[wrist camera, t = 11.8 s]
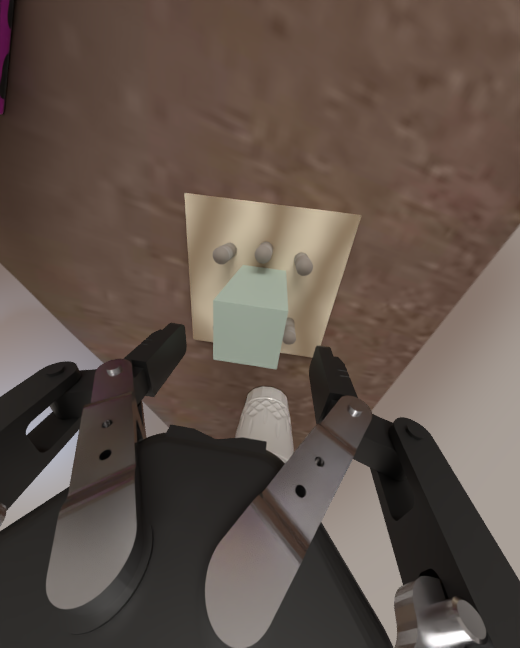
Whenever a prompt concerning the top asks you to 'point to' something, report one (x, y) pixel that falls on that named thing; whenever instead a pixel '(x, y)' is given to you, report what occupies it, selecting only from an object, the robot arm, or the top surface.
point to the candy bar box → (5, 46)
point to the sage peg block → (251, 317)
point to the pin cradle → (268, 259)
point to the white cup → (267, 421)
